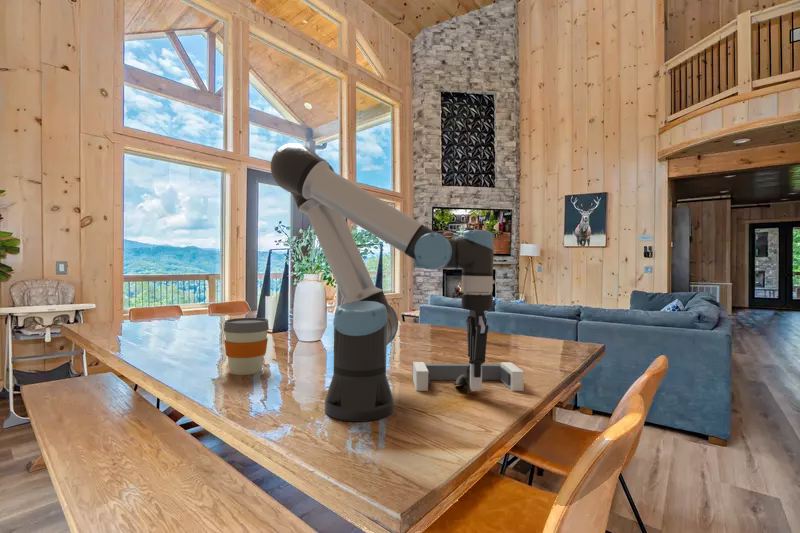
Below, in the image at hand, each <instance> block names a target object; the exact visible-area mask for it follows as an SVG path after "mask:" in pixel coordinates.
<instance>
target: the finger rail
mask: <svg viewBox="0 0 800 533" xmlns="http://www.w3.org/2000/svg"><path fill="white" fill-rule="evenodd" d="M469 365H470V364H469V363H425V361H413V363H412V372H411V373H412V374H411V376H412V377H411V378H412V381H413V382H412V383H413V385H414V387H415V391H416V392H427V391H429V386H430V383H431V382H430V381H431V380H432V381H434V380H435V381H442V380H443V381H445V380H446V381H454V380H455V381H456V380H457V378H458V377H459V376H461V375H463V374H464V376H465V374H466V368H467V367H468V366H469ZM524 372H525V371H523V369H521V368H520V367H518V366H517V365H515V364H514V363H512V362H505V361H502V362H500V363H483V364H482V378H483V380H482V381H501V382H502V383H503V384H504V385H505V386H506V387H507V388H508V389H509V390H511V391H512V392H523V391H524V383H525V382H524V381H525V380H524V377H525V376H524V374H525V373H524Z"/></svg>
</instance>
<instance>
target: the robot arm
mask: <svg viewBox="0 0 800 533" xmlns="http://www.w3.org/2000/svg"><path fill="white" fill-rule="evenodd" d="M270 173H271V176H272V178H273V180H274V182H275V183H276V184H277V185H278V187H280V188H281V189H283V190H285V191H286V192H289V193H290V194H291V195H292V197H293V199H294V201H295V204H296V206H297V210H298V211H299V212H300V213H301V214H305V215H306V216H307V217H308V220H309V222H310V223H311V226H312V229H313V231H314V233H315V236H316V238H317V240H318V243H319V245H320V247H321V249H322V252H323V256H324V258H325V259H326V262H327V264H328V266H329V268H330V271H331V273H332V275H333V278H334V281H335V283H336V285H337V287H338V290H339V293H340V294H341V296H342V298H343V301H342V303H341V304H340V305H338V306H337V307H336V309H335V310H334V311H335V312H334V317H333V373H332V374H333V375H332V378H331V382H330V384H329V387H328V390H327V392H326V396H325V399H324V412H325V414H326V415H328V416H329V417H331V418H332V419H336V420H340V421H344V422H345V421H347V422H367V421H375V420H379V419H383V418H385V417H387V416H389V415H390V414H392V412H393V411H394V397H393V396H394V395H393V393H392V390H391V387H390V383H389V379H388V377H387V345H389V344H390V343H392V341H393V340H394V339H395V337H396V335H397V332H398V329H399V318H398V314H397V313H396V310H395V309H394V308H393V307H392V306H391V305H390V304H389V301H388V300H387V297H386V295H385V292H384V291H383V289H381V288H379V287H377V286H375V285H374V282H373V280H372V277H371V276H370V273H369V271H368V268H367V266H366V263H365V261H364V260H363V257H362V255H361V252H360V250H359V248H358V245H357V243H356V241H355V238H354V236H353V234H352V231H351V229H350V227H349V225H348V223H347V222H348V221H350V222H351V223H354V224H355V225H357V226H359V227H360V228H362V229H363V230H364V231H365V230H366V231H367V232H368V233H370V234H372V235H373V236H375V237H377V238H378V239H380V240H382V241H383V242H385V243H386V244H388V245H390V246H391V247H393V248H395V249H397V250H398V251H399V252H402V253H403V254H404V255H406V256H407V257H409V258H410V259H412V260H413V265H414V267H415V268H418V269H424V270H430V271H431V270H433V271H434V270H435V271H436V270H439V269H440V270H441V269H442V270H443V269H444V270H445V269H446V270H447V269H449V270H450V269H453V270H454V269H455V270H456V269H457V270H459V269H460V270H461V292H463V293H462V295H461V309H463V310H466V311H469V313H468V316H467V317H466V320H465V322H466V328H467V332H466V334H467V357H468V358H469V361H468V364H470V390H472V391H475V390H476V391H483V380H482V364H486V355H487V354H486V352H487V351H486V350H487V341H488V332H489V328H490V327H489V325H488V324H487V323H488V322H487V321H488V320H487V317H486V315H485V312H486V311H492V309H493V306H494V304H493V303H494V302H493V300H494V298H493V295H492V294H491V293H492V292H493V291H494V290H493V289H494V286H493V285H494V284H496V283H495V282H496V281H495V279H494V252H495V250H494V249H495V248H494V235H493V233H492V232H491V231H490V230H485V229H470V230H468V229H467V230H465V231H463V232H462V235H461V238H447V237H446V236H444V235H443V234H441V233H439V232H436V231H434V230H433V229H431V228H429V227H427V226H426V225H424V224H422V223H421V222H419V221H418V220H416V219H414V218H413V217H411V216H410V215H407V214H406V213H405V212H402V211H401V210H399V209H397V208H396V207H394V206H393V205H391V204H389V203H387V202H386V201H384V200H382V199H380V198H378V197H377V196H376V195H374V194H373V193H370V192H368V190H366V189H364V188H362V187H360V186H359V185H357V184H356V183H353V182H352V181H350V180H349V179H348V178H345V177H343V176H342V175H340V174H339V173H337V172H336V171H335V170H334V168H333V166H331V165H330V163H329V162H328V161H327V160H325V159H324V158H322V157H321V156H319V155H318V154H317V153H315V152H314V150H312V149H311V148H310V147H308V146H306V145H305V144H302V143H296V142H293V143H287V144H284V145H282V146H280V147H279V148H278V149H277V150H276V151H275V152H274V153H273V156H272V157H271V161H270ZM346 219H347V220H348V221H347V220H346Z"/></svg>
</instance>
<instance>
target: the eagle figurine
mask: <svg viewBox="0 0 800 533" xmlns="http://www.w3.org/2000/svg"><path fill="white" fill-rule="evenodd" d="M482 381H484V380H483V378H482ZM453 386H463V387H464V389H466V390H467V393H466V394H467V396H469V395H470V393H472V391H473V390H470V365H469V366H468V367H467V368H466V374H465V376H464V374H463V375H461V376H459V377H458V378H457V380H455V382H454V383H453ZM476 391H477V390H474V392H476Z"/></svg>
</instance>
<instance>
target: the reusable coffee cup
mask: <svg viewBox="0 0 800 533" xmlns="http://www.w3.org/2000/svg"><path fill="white" fill-rule="evenodd" d="M223 326H224V327H223V332H224V335H225V337H224V338H225V339H224V347H225V349H224V350H225V357H227V360H228V361H227V362H228V369H229V370H228V371H229V373H230V374H232V375H235V376H236V375H237V376H245V375H247V376H248V375H255V374H259V373H260V372H262V370H263V365H264V358H265V357H264V356H265V355H266V354H267V345H268V340H269V339H268V337H267V336H268V331H269V330H270V328H269V319H268V318H263V317H239V318H238V317H236V318H230V319H226V320H224V325H223Z"/></svg>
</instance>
